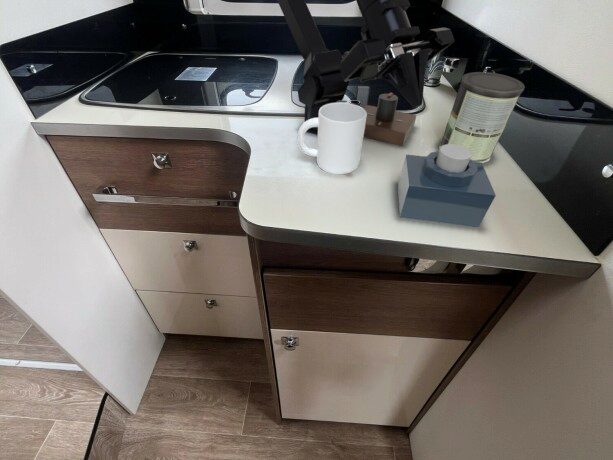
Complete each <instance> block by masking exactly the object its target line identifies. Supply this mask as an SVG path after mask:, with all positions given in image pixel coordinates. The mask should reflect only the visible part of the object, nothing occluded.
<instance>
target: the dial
mask: <svg viewBox="0 0 613 460" xmlns="http://www.w3.org/2000/svg"><path fill="white" fill-rule="evenodd" d="M398 101H399V97H398V96H397V95H396V94H394V93H393V92H389V93H381V94H379V95H378V100H377V106H376V107H377V111H376V119H378V120H380V121H386V122H387V121H392V120H393V119H394V115H395V111H397V105H398Z"/></svg>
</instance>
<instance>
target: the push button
mask: <svg viewBox="0 0 613 460" xmlns="http://www.w3.org/2000/svg"><path fill="white" fill-rule="evenodd" d="M438 151H439V153H438V156H437V159H436V165H437V166H438V167H440V168H441V169H444V170H446V171H449V172H457V173H459V172H464V171H465V170H466V168H467V165H468V163H469V161H470V158H471V156H472V153H471V151H470V150H468V149H467V148H465V147H463V146H460V145H455V144H446V145H443V146H441V148H440V150H439V149H438Z"/></svg>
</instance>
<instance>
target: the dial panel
mask: <svg viewBox="0 0 613 460" xmlns="http://www.w3.org/2000/svg"><path fill="white" fill-rule="evenodd" d="M362 108H363V109H365V111H366V112H367V117H366V124H365V130H364V137H363V138H367V139H371V140H375V141H379V142H384V143H387V144H392V145H396V146H399V147H400V146H401V147H403V146H404V144H405V143H406V141H407V139H408V138H409V136H410V134H411V132H413V130H414V126H415V123H416V119H417V114H411V113H408V112H402V111H397V110H396V111H395V115H394V119H393V120H392V121H387V122H386V121H380V120H378V119H376V111H377V106H374V105H369V104H365V105H364V107H362Z"/></svg>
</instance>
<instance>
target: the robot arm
mask: <svg viewBox="0 0 613 460" xmlns="http://www.w3.org/2000/svg"><path fill="white" fill-rule="evenodd" d="M276 1H277V4H278V6H279V8H280V10H281V12H282V15H283V16H284V19H285V22H286V23H287V26H288V28H289V30H290V32H291V35H292V37H293V39H294V42H295V44H296V45H297V48H298V50H299V52H300V55H301V57H302V59H303V61H304V65H303V67H304V68H303V76H302V78H303V83H302V84H301V86H300V87H299V88H298V89H297V97H298V102H300V103H301V104H303V105H304V122H305V121H307V120H309V119H312V118H318V117H319V109H320V108H321V107H322V106H324V105H326V104H330V103H338V102H339V101H340V102H341V101H343V100H344V98H345V95H346V92H347V90H348V87H349V84H350V81H355V80H359V81H360V83H365V82H367V81H371V80H373V81H375V80H382V81H387V82H389V84H391V85H392V86H393V87H394V88H395V89H396V90H397V91H398V92H399V93H400V95H402V97H403V98H404V99H405V100H406V101H407V102H408V104H409V105H410V106H411V107H412V109H417V108H419V107H421V106H422V105H423V99H424V89H425V78H426V71H427V65H428V63H429V62H430V61H432V60H434V58H436V57H437V56H439V54H441V53H443V52H444V51H445V50H446V49H447V48H449V47H450V46H451V45H453V44H454V43H455V38H454V36H453V32H452V29H451V28H447V27H438V28H433V29H431V28H430V29H428V30H427V31H426V32H425V33H424V34H423V35H421V36H420V37H419V39H417V40H416V41H415V38H417V36H419V35H420V34H421V30H420V28H419V26H418V25H415V26H411V23H410V19H409V18H408V15H407V12H406V11H407V10H408V9H409V7H410V6H411V3H410V1H409V0H343V1H344V2H353V1H356V4H357V7H358V10H359V12H360V14H361V17H362V20H363V23H364V24H363V26H362V27H360V36H361V38H362V39H361V40H358V41H357V42H356V43H355V44H354V45H353V46H352V47H351V49H350V50H349V51H345V52H343V55H342V53H341V51H340V50H339V49H334V50H330V49H328V48H327V47H326V44H325V42H324V40H323V37H322V36H321V33H320V31H319V29H318V27H317V24H316V22H315V19H314V17H313V15H312V13H311V11H310V9H309V6H308V4H307V2H306V0H276ZM306 133H311V134H315V135H318V127H312V128H309V129H308V130H307V131H306Z"/></svg>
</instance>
